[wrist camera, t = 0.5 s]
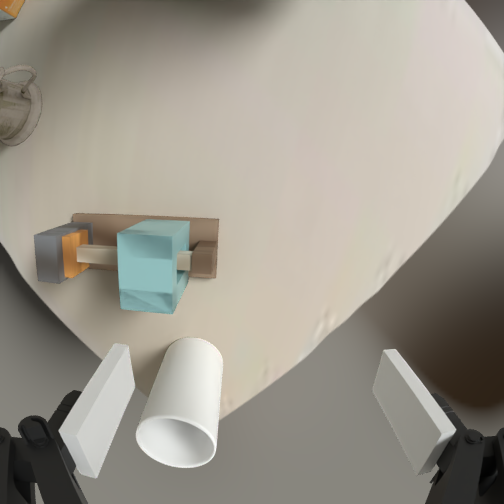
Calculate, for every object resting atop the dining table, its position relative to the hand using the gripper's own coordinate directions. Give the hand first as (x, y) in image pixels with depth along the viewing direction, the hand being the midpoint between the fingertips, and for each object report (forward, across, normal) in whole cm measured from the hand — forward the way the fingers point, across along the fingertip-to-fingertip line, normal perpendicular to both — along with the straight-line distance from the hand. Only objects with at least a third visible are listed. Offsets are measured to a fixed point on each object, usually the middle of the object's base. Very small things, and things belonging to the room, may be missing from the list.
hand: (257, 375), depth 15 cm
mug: (+25, -32, +20) cm, 45 cm away
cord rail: (+24, -13, +1) cm, 28 cm away
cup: (+24, -7, -16) cm, 30 cm away
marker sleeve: (+21, -9, +1) cm, 23 cm away
